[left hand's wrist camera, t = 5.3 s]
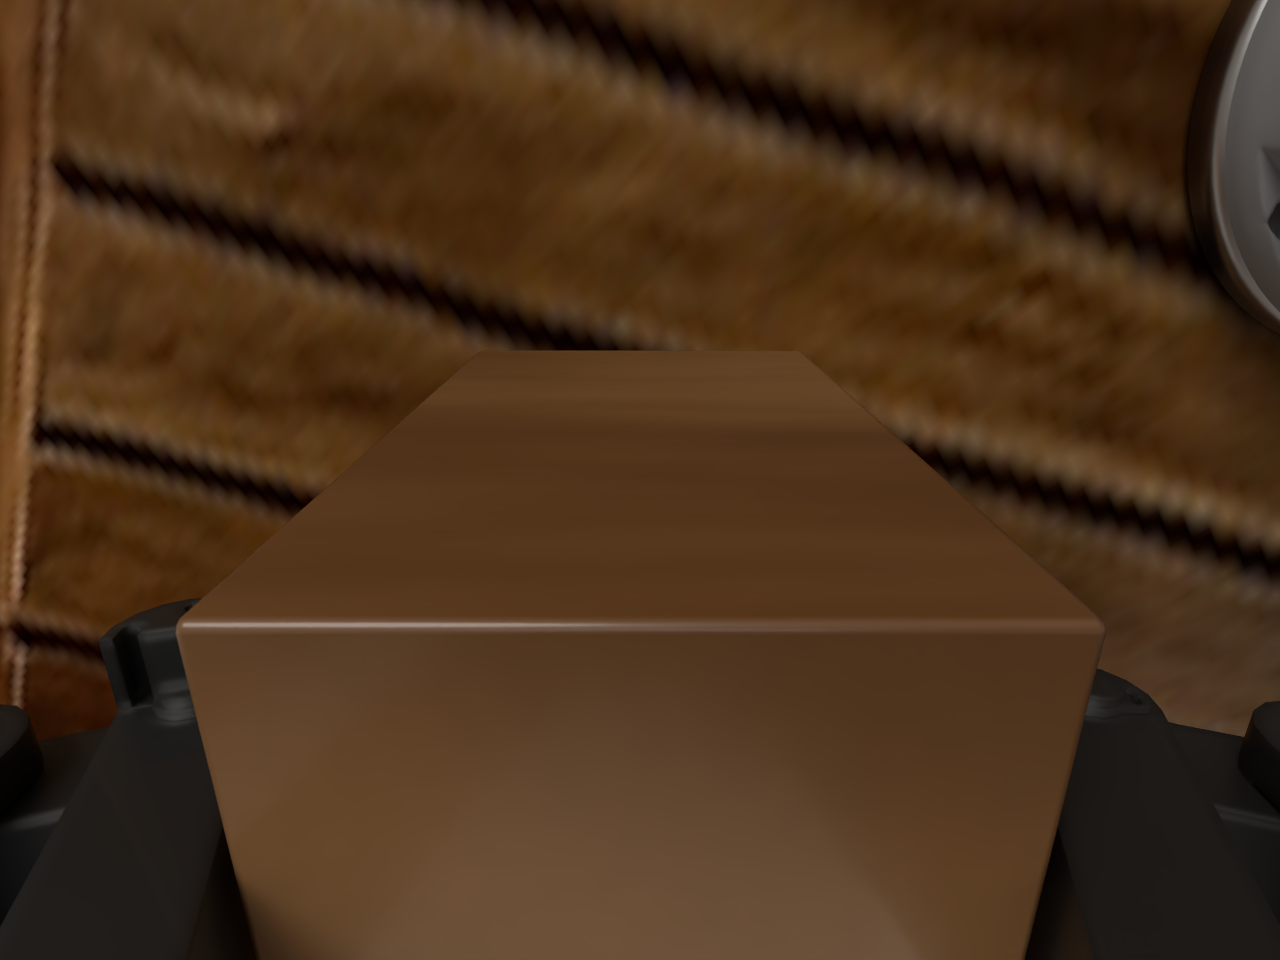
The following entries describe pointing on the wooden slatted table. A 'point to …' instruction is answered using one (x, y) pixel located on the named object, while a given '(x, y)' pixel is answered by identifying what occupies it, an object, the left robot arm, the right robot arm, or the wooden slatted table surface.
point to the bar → (640, 682)
